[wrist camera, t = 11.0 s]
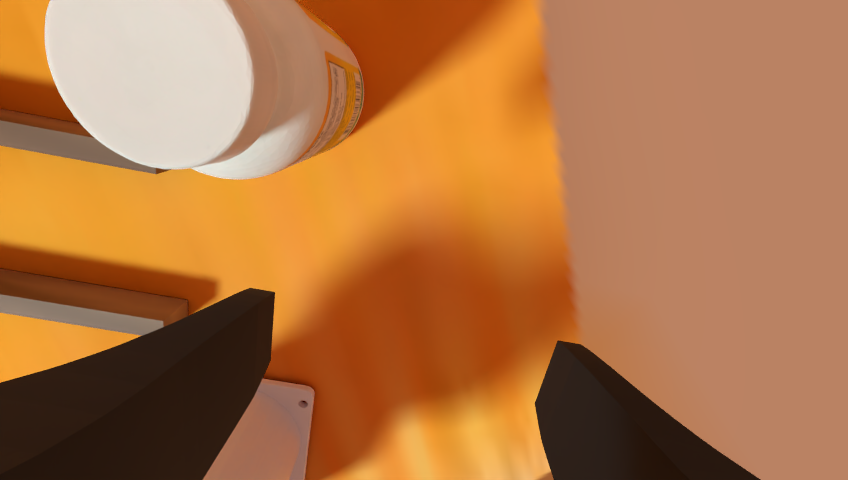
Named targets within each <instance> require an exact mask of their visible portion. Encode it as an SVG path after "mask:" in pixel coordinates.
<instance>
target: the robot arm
mask: <svg viewBox="0 0 848 480" xmlns="http://www.w3.org/2000/svg"><path fill="white" fill-rule="evenodd" d="M274 299H275V292H271V291H265V290H259V289H253V288H249V289H246V290H243V291H241V292H239V293H237V294H234V295H232V296H230V297H228V298H226V299H224V300H221V301H219V302H217V303H215V304H213V305H211V306H209V307H207V308H204V309H202V310H200V311H198V312H196V313H194V314H192V315H189V316H187V317H185V318H183V319H181V320H179V321H176V322H174V323H172V324H169V325H167V326H165V327H162V328H160V329H157V330H155V331H153V332H150V333H148V334H145V335H143V336H141V337H138V338H136V339H133V340H131V341H129V342H126V343H123V344H121V345H118V346H116V347H113V348H110V349H107V350H105V351H102V352H99V353H96V354H93V355H90V356H87V357H85V358H82V359H79V360H76V361H73V362H70V363H67V364H64V365H61V366H57V367H54V368H51V369H48V370H44V371H41V372H37V373H33V374H30V375H26V376H23V377H19V378H16V379H12V380H9V381H5V382H1V383H0V480H305V474H306V465H307V456H308V448H309V439H310V430H311V422H312V413H313V405H314V396H315V393H314V390H313V389H312V388H311V387H309V386H306V385H300V384H294V383H287V382H281V381H275V380H269V379H263V376H264V374H265V372H266V370H267V367H268V365H269V363H270V361H271V345H272V330H273V314H274ZM302 401H306V402H307V403H304V402H302ZM535 407H536V412H537V418H538V424H539V429H540V434H541V439H542V443H543V447H544V450H545V453H546V456H547V460H548V463H549V466H550V469H551V472H552V475H553V478H554V480H760V479H759V478H757V477H756V476H754V475H753V474H751V473H750V472H748V471H747V470H745V469H744V468H742V467H741V466H739V465H738V464H736V463H735V462H733V461H732V460H730V459H729V458H728V457H726V456H725V455H723V454H722V453H720V452H719V451H717V450H716V449H714V448H713V447H712V446H710V445H709V444H707V443H706V442H705V441H703V440H702V439H700V438H699V437H698V436H696V435H695V434H694V433H693V432H691V431H690V430H689V429H687V428H686V427H685V426H683V425H682V424H681V423H679V422H678V421H677V420H675V419H674V418H673V417H671V416H670V415H669V414H668V413H666V412H665V411H664V410H663V409H661V408H660V407H659V406H657V405H656V404H655V403H654V402H652V401H651V400H650V399H649V398H648V397H646V396H645V395H644V394H643V393H641V392H640V391H639V390H638V389H637V388H635V387H634V386H633V385H632V384H630V383H629V382H628V381H627V380H626V379H624V378H623V377H622V376H621V375H620V374H618V373H617V372H616V371H615V370H614V369H612V368H611V367H610V366H609V365H607V364H606V363H605V362H604V361H602V360H601V359H600V358H599V357H597V356H596V355H595V354H594V353H592V352H591V351H590V350H588V349H587V348H585V347H584V346H582V345H581V344H575V343H569V342H563V341H557V344H556V347H555V349H554V352H553V355H552V358H551V360H550V363H549V366H548V369H547V371H546V374H545V377H544V380H543V383H542V385H541V388H540V391H539V394H538V396H537V399H536V402H535Z"/></svg>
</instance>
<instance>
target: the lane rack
mask: <svg viewBox="0 0 848 480" xmlns="http://www.w3.org/2000/svg"><path fill="white" fill-rule="evenodd" d="M0 145H1V146H6V147H12V148H17V149H23V150H28V151H34V152H39V153H45V154H50V155H55V156H61V157H66V158H72V159H77V160H83V161H88V162H93V163H99V164H104V165H110V166H115V167H121V168H126V169H132V170H137V171H142V172H148V173H153V174H158V173H161V172H165V171H168V170H171V169H160V168H154V167H149V166H146V165H142V164H139V163H136V162H133V161H131V160H129V159H127V158H125V157H123V156H121V155H119V154H117V153H116V152H114V151H112V150H111V149H109V148H107V147H106V146H105V145H103V144H102V143H100V142H99V141H98V140H97V139H95V138H94V137H93V136H92V135H91V134H90V133H89V132H88V131H87V130H86V129H85V128H84V127H83V126H82V125H81V124H79V123H74V122H69V121H63V120H58V119H53V118H48V117H42V116H37V115H32V114H26V113H21V112H16V111H10V110H5V109H0ZM0 313H6V314H13V315H19V316H25V317H31V318H37V319H43V320H50V321H56V322H62V323H68V324H74V325H80V326H87V327H93V328H99V329H105V330H111V331H117V332H124V333H130V334H136V335H142V336H143V335H145V334H148V333H150V332H153V331H155V330H157V329H160V328H162V327H165V326H167V325H169V324H172V323H174V322H176V321H179V320H181V319H183V318H185V317H187V316H188V300H184V299H178V298H173V297H167V296H161V295H155V294H149V293H143V292H137V291H131V290H125V289H119V288H113V287H107V286H101V285H95V284H89V283H83V282H77V281H71V280H65V279H59V278H53V277H47V276H42V275H36V274H30V273H24V272H18V271H12V270H6V269H0Z"/></svg>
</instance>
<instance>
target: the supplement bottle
mask: <svg viewBox="0 0 848 480" xmlns="http://www.w3.org/2000/svg"><path fill="white" fill-rule="evenodd" d="M45 47H46V54H47V60H48V64H49V67H50V70H51V74H52V77H53V80H54V82H55V84H56V87H57V89H58V91H59V93H60V95H61V97H62V98H63V100H64V102H65V104H66V105H67V107H68V108H69V109H70V111H71V112H72V114H73V115H74V117H75V118H76V119H77V120H78V121H79V122H80V124H81V125H82V126H83V127H84V128H85V129H86V130H87V131H88V132H89V133H90V134H91V135H92V136H93V137H94V138H95V139H97V140H98V141H99V142H100V143H102V144H103V145H105V146H106V147H107V148H109V149H111V150H112V151H114V152H116V153H117V154H119V155H121V156H123V157H125V158H127V159H129V160H131V161H133V162H136V163H139V164H142V165H146V166H149V167H154V168H160V169H187V168H191V169H193V170H196V171H198V172H201V173H204V174H207V175H210V176H214V177H218V178H225V179H251V178H258V177H262V176H266V175H269V174H273V173H276V172H278V171H281V170H283V169H285V168H287V167H290V166H292V165H294V164H297V163H299V162H302V161H304V160H307V159H309V158H311V157H313V156H316V155H318V154H321V153H323V152H325V151H328V150H330V149H332V148H334V147H335V146H337V145H338V144H340V143H341V142H342V141H343V140H344V139H346V138H347V137H348V135H349V134H350V133H351V132H352V130H353V129H354V127H355V126H356V124H357V122H358V120H359V117H360V114H361V111H362V108H363V102H364V82H363V77H362V72H361V69H360V66H359V64H358V61H357V59H356V57H355V55H354V53H353V52H352V50H351V49H350V47H349V46H348V45H347V44H346V42H345V41H344V40H343V39H342V38H341V37H340V36H339V35H338V34H337V33H336V32H335V31H333V30H332V29H331V28H330V27H329V26H328V25H326V24H325V23H324V22H323V21H321V20H320V19H319V18H317V17H316V16H315V15H314V14H313V13H312V12H310V11H309V10H308V9H306V8H305V7H304V6H303V5H302V4H300V3H299V2H298V1H297V0H50V3H49V5H48V8H47V12H46V19H45Z"/></svg>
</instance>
